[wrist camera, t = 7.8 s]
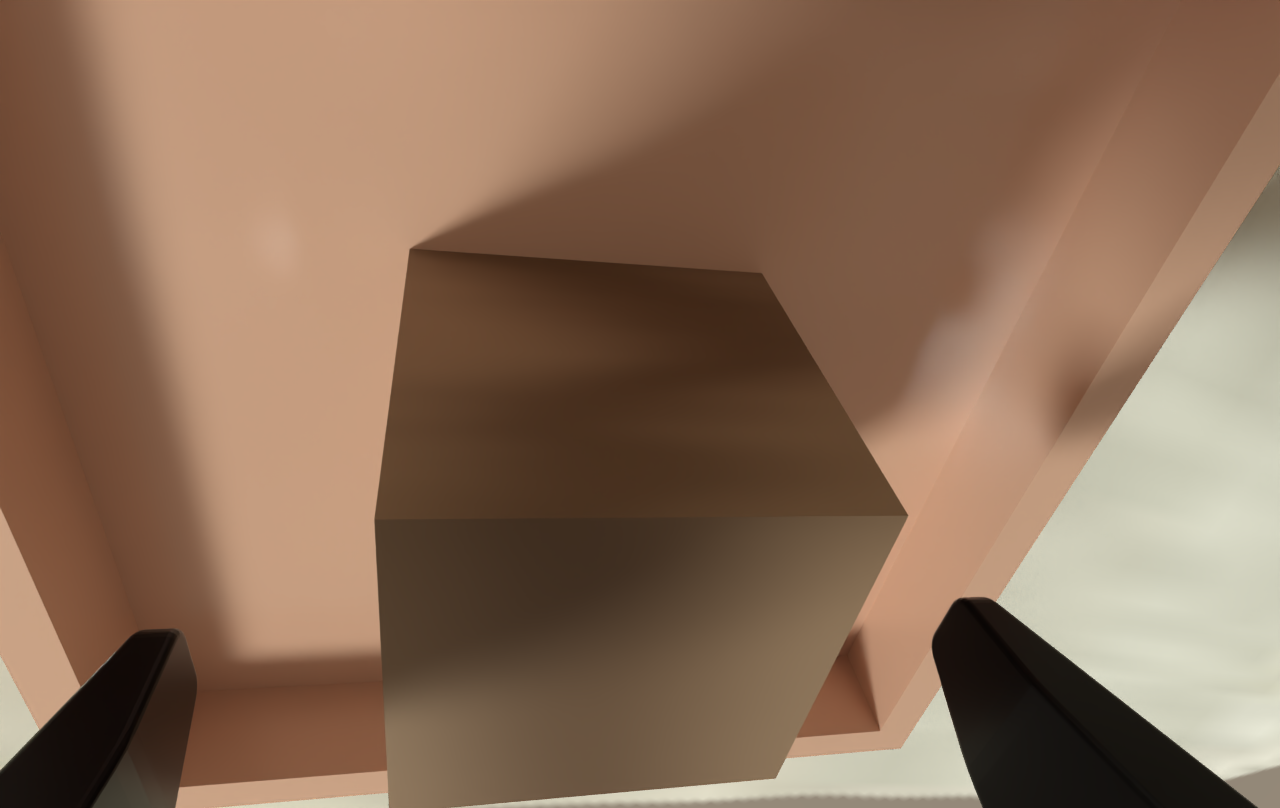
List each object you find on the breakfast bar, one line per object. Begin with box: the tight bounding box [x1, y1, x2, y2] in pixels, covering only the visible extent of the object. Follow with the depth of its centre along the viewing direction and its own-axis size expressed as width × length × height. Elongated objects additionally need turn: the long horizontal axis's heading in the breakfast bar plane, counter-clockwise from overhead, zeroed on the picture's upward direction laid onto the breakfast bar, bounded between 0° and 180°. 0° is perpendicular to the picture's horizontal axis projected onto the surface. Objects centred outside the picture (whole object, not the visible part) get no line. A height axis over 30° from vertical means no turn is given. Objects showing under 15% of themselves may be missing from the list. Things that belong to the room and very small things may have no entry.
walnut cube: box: [374, 249, 908, 808], centre depth 11 cm, size 5×5×5 cm
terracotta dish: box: [0, 0, 1280, 808], centre depth 12 cm, size 16×16×2 cm
